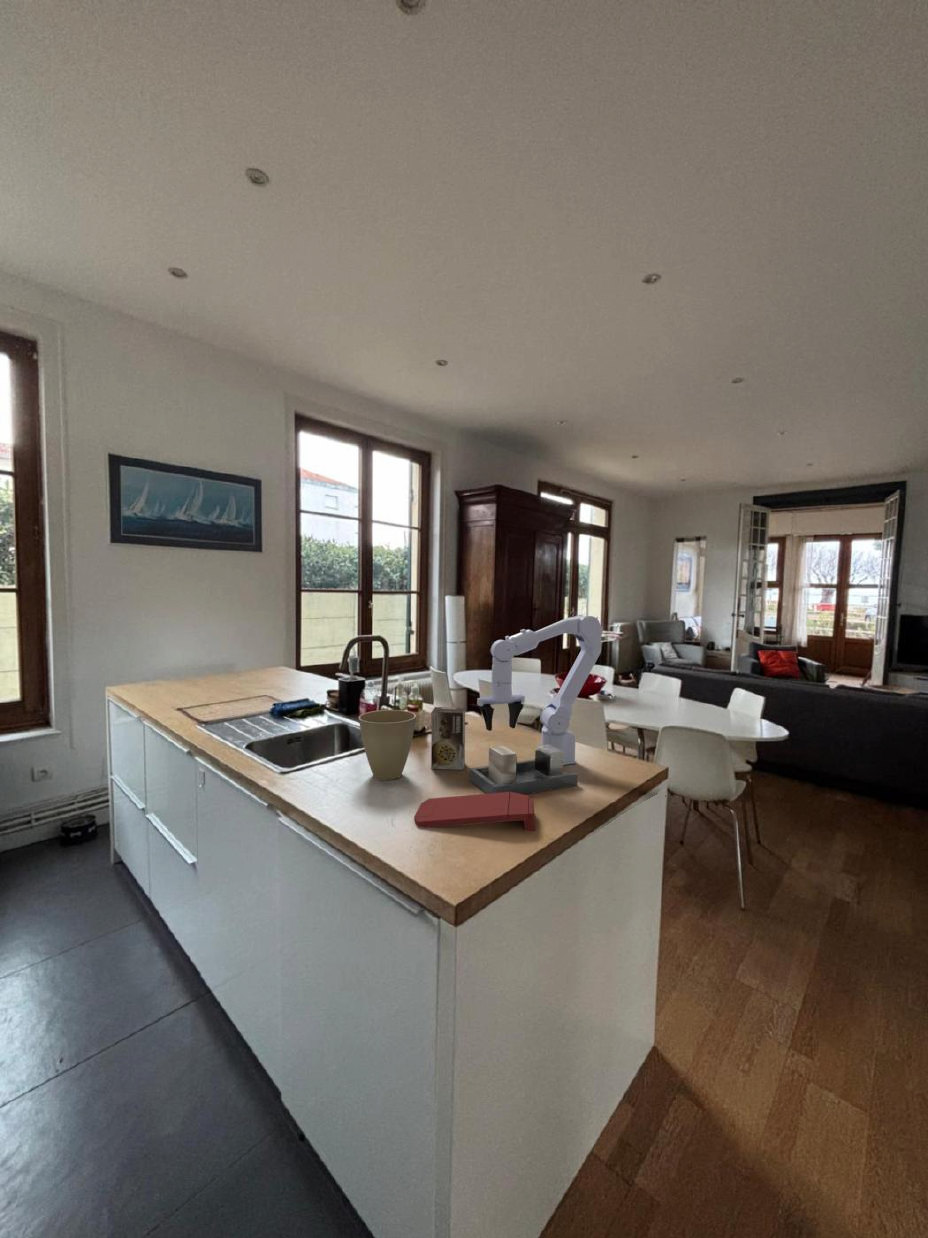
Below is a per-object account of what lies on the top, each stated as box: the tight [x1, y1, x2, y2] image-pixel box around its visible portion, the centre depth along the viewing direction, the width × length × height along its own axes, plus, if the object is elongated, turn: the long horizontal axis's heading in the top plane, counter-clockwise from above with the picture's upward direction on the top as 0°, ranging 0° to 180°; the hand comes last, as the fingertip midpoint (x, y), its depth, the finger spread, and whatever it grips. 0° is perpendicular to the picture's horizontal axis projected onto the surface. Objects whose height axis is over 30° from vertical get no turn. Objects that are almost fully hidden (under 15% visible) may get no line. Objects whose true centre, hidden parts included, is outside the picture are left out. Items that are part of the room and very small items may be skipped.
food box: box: [430, 706, 466, 771], centre depth 141 cm, size 9×6×16 cm
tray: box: [468, 744, 579, 795], centre depth 130 cm, size 24×14×8 cm, turn 114°
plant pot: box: [358, 709, 417, 781], centre depth 133 cm, size 15×15×16 cm
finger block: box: [488, 745, 518, 784], centre depth 127 cm, size 5×7×8 cm, turn 25°
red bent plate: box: [413, 792, 536, 832], centre depth 108 cm, size 12×5×25 cm
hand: (500, 728), depth 145 cm, fingers open, 7 cm apart
